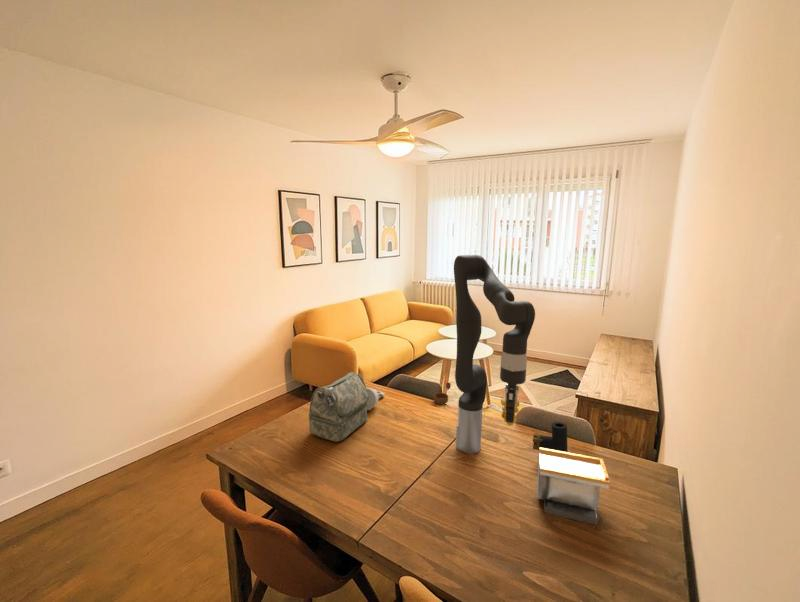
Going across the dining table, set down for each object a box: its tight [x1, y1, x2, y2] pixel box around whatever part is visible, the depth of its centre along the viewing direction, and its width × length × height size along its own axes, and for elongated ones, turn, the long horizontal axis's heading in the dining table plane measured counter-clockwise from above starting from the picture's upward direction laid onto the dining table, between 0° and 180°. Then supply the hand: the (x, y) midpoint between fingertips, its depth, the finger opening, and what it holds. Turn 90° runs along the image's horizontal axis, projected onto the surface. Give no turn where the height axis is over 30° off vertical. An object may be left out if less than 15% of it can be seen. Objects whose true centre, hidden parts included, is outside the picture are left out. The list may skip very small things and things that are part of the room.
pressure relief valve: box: [487, 396, 520, 427], centre depth 117 cm, size 6×12×10 cm, turn 27°
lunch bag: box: [308, 371, 369, 443], centre depth 157 cm, size 26×18×22 cm
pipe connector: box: [532, 421, 569, 453], centre depth 133 cm, size 12×5×15 cm, turn 65°
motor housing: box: [536, 447, 611, 526], centre depth 111 cm, size 18×12×14 cm, turn 70°
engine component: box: [366, 387, 386, 411], centre depth 182 cm, size 11×20×10 cm, turn 171°
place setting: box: [433, 382, 452, 408], centre depth 185 cm, size 18×20×6 cm
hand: (510, 416), depth 115 cm, fingers closed on pressure relief valve, 6 cm apart
